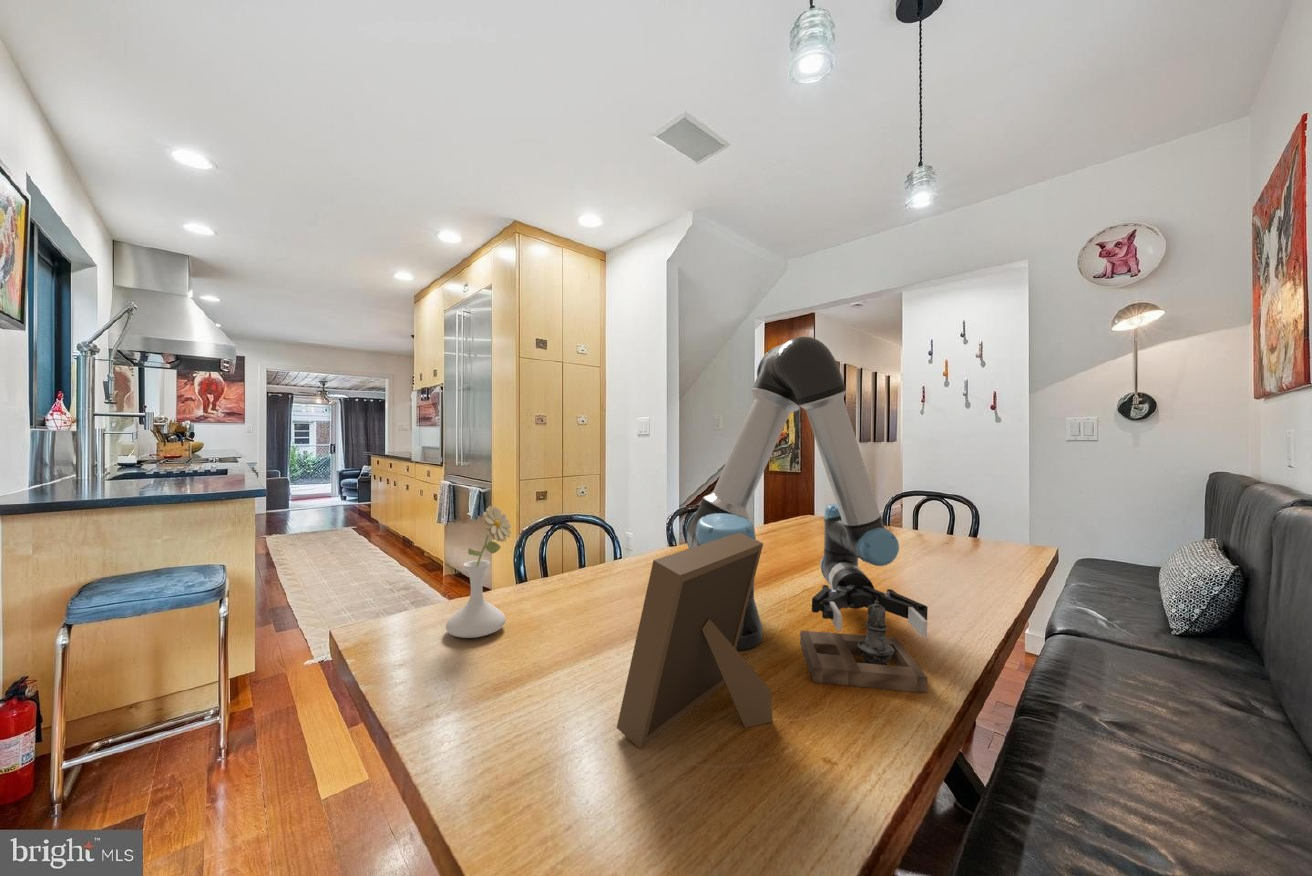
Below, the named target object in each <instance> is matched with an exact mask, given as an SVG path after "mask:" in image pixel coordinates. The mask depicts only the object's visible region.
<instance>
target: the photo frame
mask: <svg viewBox="0 0 1312 876" xmlns="http://www.w3.org/2000/svg"><path fill="white" fill-rule="evenodd" d="M763 546H764V542H761V541H759V540H757V539H756V540H755V539H753V538H751V537H748V536H746V535H744V534H742V533H736V534H733V535H730V536H727V537H724V538H721V539H718V540H715V541H711V542H708V543H705V544H702V545H699V546H696V547H693V548H690V549H689V548H687V549H684V550H680V551H677V552H675V553H672V554H671V553H670V554H668V555H665V556H662V557H659V558H656V559H653V561H652V565H651V569H650V575H649V579H648V584H647V588H646V591H645V592H646V593H645V597H644V601H643V607H642V610H641V611H642V612H641V616H640V619H639V624H638V629H637V634H636V636H635V637H636V638H635V642H634V648H633V651H632V655H631V656H632V657H631V660H630V665H629V670H628V673H627V674H628V675H627V679H626V684H625V689H624V693H623V696H622V697H623V698H622V702H621V707H620V712H619V715H618V720H617V725H616V729H617V730H618V731H619V732H620V733H622V734H623V735H624V736H625V737H626V738H627V740H630V742H632V743H633V744H634V745H635V746H636V747H637V748H638V749H640V750H641V749H643V748H644V747H645V746H646V745H648V744H649V743H650V742H651V741H653V740H654V739H655V738H657V737H658V736H659V735H660V734H663V732H664V731H666V730H667V729H668V728H669V727H670V726H672V725H673V724H675V723H676V722H677V721H678V720H680V719H681V718H683V717H684V716H685V715H686V714H688V713H689V712H690V711H692V710H693V709H694V708H695V707H697V706H698V705H699V704H701V703H702V702H703V701H705V700H706V699H707V698H708V697H710V696H711V695H713V694H714V692H716V691H718V690H719V689H721V687H723V686H724V685H725V687H726V689H727V691H728V693H729V696H730V698H731V701H732V702H733V705H734V708H735V710H736V712H737V714H738V716H739V719H740V721H741V724H742V726H743V727H744V728H745V729H747V728H752V727H754V726H755V727H756V726H760V725H764V724H770V723H773V722H774V721H773V720H774V719H773V709H772V708H773V705H772V693H771V692H772V691H771V690H772V689H771V688H770V687H769V686H768V685H767V684H766V682H764V680H763V679H762V678H761V677H760V676H759V674H757V672H756V671H755V670H754V669H753V667H752V666H751V665H750V664H749V663H748V662H747V661H746V660H745V659H744V657H743V656H742V655H741V654H740V652H738V651H737V650H736V646H737V643H738V639H739V635H740V631H741V627H742V623H743V620H744V616H745V612H746V608H747V604H748V601H749V597H750V593H751V589H752V585H753V581H754V582H755V577H756V572H757V570H758V565H759V561H760V559H761V554H762V550H763Z"/></svg>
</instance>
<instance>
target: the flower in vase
mask: <svg viewBox="0 0 1312 876" xmlns="http://www.w3.org/2000/svg"><path fill="white" fill-rule="evenodd" d="M481 517H482V520H483V521H482V524H483V526H484V531H485V532H486V533H487V534H486V537H485V541H484V543H483V547H482V549H481V551H478V550H474V549H472V548H468V551H467V554H468V555H470V556H475V557H476V556H477V557H478V559H477V560H475V559H474V560H469V561H466V562H464V563H463V567H464V568H465V569H466V571H467V573H468V577H469V582H470V594H469V595H470V596H469V599H468V601H467V602H466V604H464V605H463V606H462V607H461V608H459V609H458V610H457V611H455V612H454V614H452V616H451V617H450V618H449V619H448V620H447V621H446V624H445V630H446V632H448V633H449V635H452V636H453V637H457V638H463V639H465V638H466V639H468V638H469V639H472V638H474V639H475V638H481V637H485V636H488V635H491V634H493V633H495V632H498V631H499V630H501V628H503V627H504V625H505V624H506V621H507V618H506V616H505V614H504V613H503V611H501V610H500V609H499V608H497V607H496V606H494V605H493V604H491V603H489V602H488V601H487V600H486V599H485V597H484V594H483V591H484V590H483V583H484V577H485V572H486V570H487V569H488V567H489V565H490V564H491V562H490V561H489V560H486V559H481V558H482V556H483V553H484V551H485V549H486V550H487V551H488V552H489V553H490V554H496V553H497V552H498V551H500V550H501V548H502V547H501V545H500V544H499V542H501V543H504V542H506V541H507V538H510V537H511V534H512V531H511V530H510V529H511V528H512V524H510V521H509V519H508V518H507V515H506V513H504V512H502V510H501V509H500V508H498V507H497V506H495V505H494V506H493V508H492V506H491V505H488V507H487V508H486V509H485V511H483V513H482V516H481ZM489 537H490V538H491V540H489V541H488V539H489ZM496 541H497V542H496Z"/></svg>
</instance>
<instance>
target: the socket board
mask: <svg viewBox="0 0 1312 876" xmlns="http://www.w3.org/2000/svg"><path fill="white" fill-rule="evenodd" d="M799 634H800V636H799V637H800V638H799V644H800V647H801V650H802V654H803V656H804V659H805V660H804V661H805V663H806V666H807V668H808V672H809V674H810V677H811V680H812V683H817V684H827V685H837V686H838V685H839V686H847V687H849V686H851V687H860V688H861V687H862V688H872V689H881V690H882V689H883V690H893V691H906V692H913V693H914V692H915V693H926V694H927V693H928V676H927V675H926V674H925V672H924V671H923V669H922V668H920V666H919V665H918V664H917V662H916V661H915V660H914V658H913V657H912V656H911V655H910V653H909V652H908V650H906V648H905V647H904V646H903V644H902V643H901V642H900V641H899V639H898V638H897V637H890V636H885V640H886V644H888V645H890V646H891V647H892V648H893V649H894V653H893V654H892V657H891V659H893V660H894V662H895V663H896V664H897V665H891V664H888V665H879V664H867V663H859V662H857V661H856V659H855V657H854V655H856V656H861V653H860V651H859V647H858V642H859V641H861V640H865V639H866V635H867V634H864V635H863V634H851V633H838V632H827V631H826V632H823V631H814V630H813V631H812V630H811V631H810V630H800V633H799Z"/></svg>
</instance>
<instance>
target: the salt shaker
mask: <svg viewBox="0 0 1312 876" xmlns="http://www.w3.org/2000/svg"><path fill="white" fill-rule="evenodd" d="M878 603H879V602H878V600H876V601H875V604H872V605H870V606H869V607H868V608H867V618H866V619H867V621H866V622H865V623H864V626H865V627H866V634H865V635H866V639H865V640H861V641H859V642H858V647H859V651H860V653H861V655H860V656H861V657H862V659H861V660H860V661H858V663H867V664H879V665H889V664H888V663H889V662H890V661H891V659H892V658H891V657H892V654H893V653H894V649H893V648H892V647H891V646H890V645H888V644H886V640H885V637H886V630H888V625H886V611H885V609H884V607H882V606H881V605H879V604H878Z"/></svg>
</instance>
